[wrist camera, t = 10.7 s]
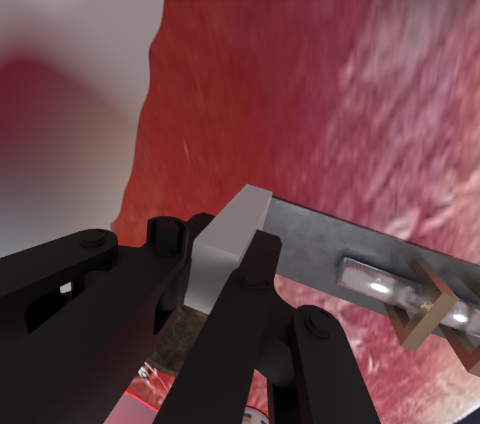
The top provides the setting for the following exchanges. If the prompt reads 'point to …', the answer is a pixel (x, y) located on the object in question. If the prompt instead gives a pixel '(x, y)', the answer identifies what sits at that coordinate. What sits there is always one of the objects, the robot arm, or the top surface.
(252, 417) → the supplement tub
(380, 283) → the tube
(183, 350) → the bowl
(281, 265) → the plate
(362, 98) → the top surface
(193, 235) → the robot arm
